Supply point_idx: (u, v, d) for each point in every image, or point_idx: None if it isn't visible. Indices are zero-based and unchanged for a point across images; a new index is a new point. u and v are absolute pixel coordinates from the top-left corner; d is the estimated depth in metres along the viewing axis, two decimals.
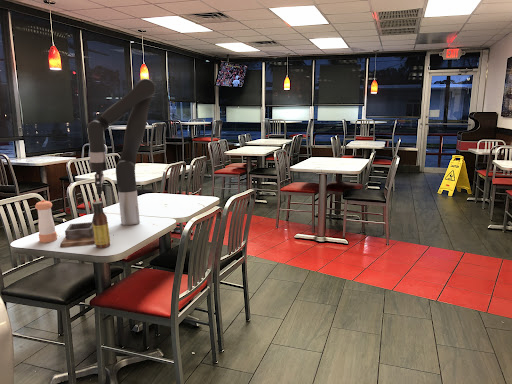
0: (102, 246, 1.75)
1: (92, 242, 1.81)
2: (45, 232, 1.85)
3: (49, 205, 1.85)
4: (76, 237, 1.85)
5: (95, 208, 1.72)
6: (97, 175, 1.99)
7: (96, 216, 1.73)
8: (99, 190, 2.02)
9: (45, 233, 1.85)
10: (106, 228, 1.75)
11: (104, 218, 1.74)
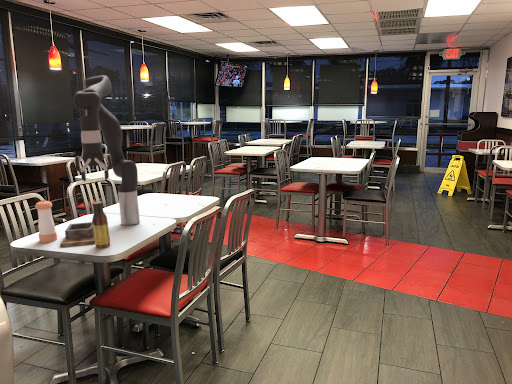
0: (102, 246, 1.75)
1: (92, 242, 1.81)
2: (45, 232, 1.85)
3: (49, 205, 1.85)
4: (76, 237, 1.85)
5: (95, 208, 1.72)
6: (110, 156, 1.72)
7: (96, 216, 1.73)
8: (108, 174, 1.73)
9: (45, 233, 1.85)
10: (106, 228, 1.75)
11: (104, 218, 1.74)
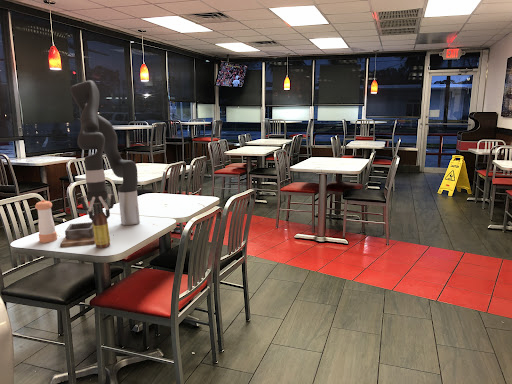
0: (102, 246, 1.75)
1: (92, 242, 1.81)
2: (45, 232, 1.85)
3: (49, 205, 1.85)
4: (76, 237, 1.85)
5: (95, 208, 1.72)
6: None
7: (96, 216, 1.73)
8: (109, 212, 1.76)
9: (45, 233, 1.85)
10: (106, 228, 1.75)
11: (104, 218, 1.74)
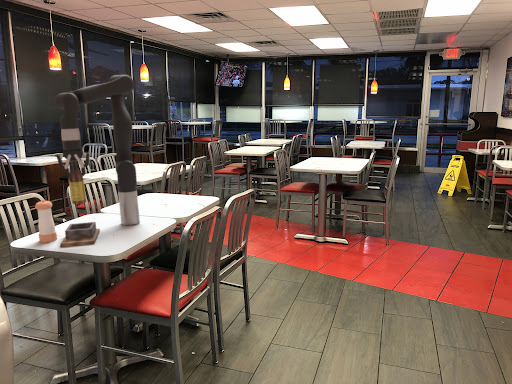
0: (78, 202, 1.85)
1: (92, 242, 1.81)
2: (45, 232, 1.85)
3: (49, 205, 1.85)
4: (76, 237, 1.85)
5: (70, 165, 1.82)
6: (89, 154, 1.85)
7: (72, 173, 1.82)
8: None
9: (45, 233, 1.85)
10: (82, 185, 1.85)
11: (80, 175, 1.84)
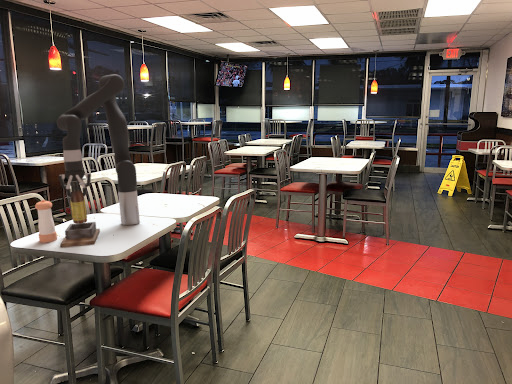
0: (79, 222, 1.88)
1: (92, 242, 1.81)
2: (45, 232, 1.85)
3: (49, 205, 1.85)
4: (76, 237, 1.85)
5: (72, 186, 1.84)
6: (90, 174, 1.87)
7: (73, 193, 1.85)
8: (86, 190, 1.88)
9: (45, 233, 1.85)
10: (83, 205, 1.87)
11: (81, 195, 1.86)
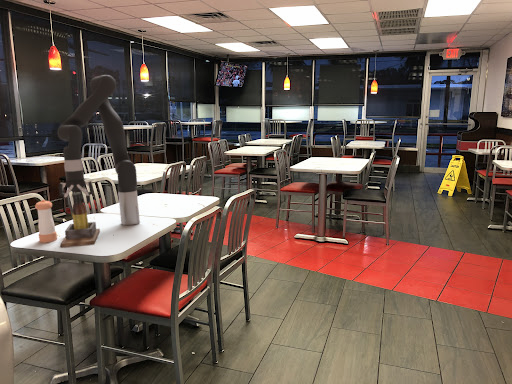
0: None
1: (92, 242, 1.81)
2: (45, 232, 1.85)
3: (49, 205, 1.85)
4: (76, 237, 1.85)
5: (74, 198, 1.86)
6: (91, 182, 1.88)
7: (75, 206, 1.86)
8: None
9: (45, 233, 1.85)
10: (85, 217, 1.88)
11: (83, 208, 1.87)
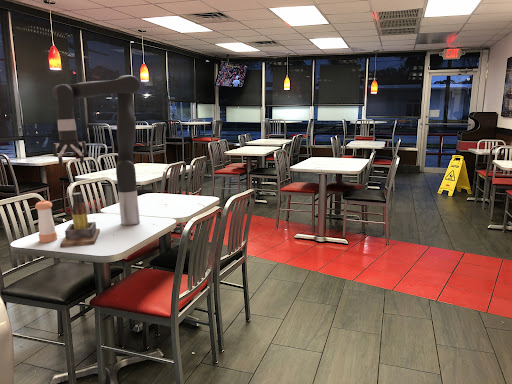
0: None
1: (92, 242, 1.81)
2: (45, 232, 1.85)
3: (49, 205, 1.85)
4: (76, 237, 1.85)
5: (74, 198, 1.86)
6: (84, 142, 1.89)
7: (75, 206, 1.86)
8: (83, 159, 1.91)
9: (45, 233, 1.85)
10: (85, 217, 1.88)
11: (83, 208, 1.87)
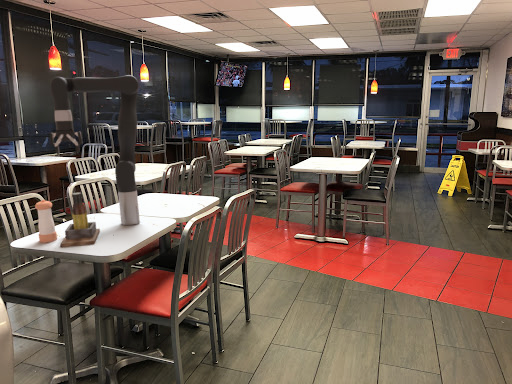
0: None
1: (92, 242, 1.81)
2: (45, 232, 1.85)
3: (49, 205, 1.85)
4: (76, 237, 1.85)
5: (74, 198, 1.86)
6: (80, 132, 1.99)
7: (75, 206, 1.86)
8: None
9: (45, 233, 1.85)
10: (85, 217, 1.88)
11: (83, 208, 1.87)
